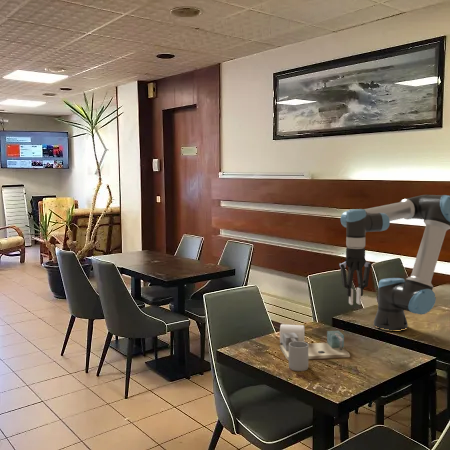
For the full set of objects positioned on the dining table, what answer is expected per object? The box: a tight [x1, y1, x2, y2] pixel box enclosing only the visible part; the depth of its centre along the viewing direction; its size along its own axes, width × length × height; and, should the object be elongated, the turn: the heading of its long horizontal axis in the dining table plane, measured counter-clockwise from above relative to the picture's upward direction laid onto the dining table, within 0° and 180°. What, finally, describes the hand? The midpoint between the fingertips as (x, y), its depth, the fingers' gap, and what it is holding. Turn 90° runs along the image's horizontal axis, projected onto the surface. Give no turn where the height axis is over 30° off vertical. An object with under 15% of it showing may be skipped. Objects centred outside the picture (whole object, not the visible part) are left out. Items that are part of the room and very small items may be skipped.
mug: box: [279, 323, 305, 344], centre depth 209 cm, size 12×10×8 cm
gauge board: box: [279, 333, 351, 361], centre depth 197 cm, size 25×14×6 cm, turn 96°
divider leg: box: [326, 330, 345, 350], centre depth 199 cm, size 5×10×5 cm, turn 6°
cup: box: [288, 341, 309, 372], centre depth 182 cm, size 7×10×9 cm
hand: (354, 303), depth 200 cm, fingers open, 3 cm apart
